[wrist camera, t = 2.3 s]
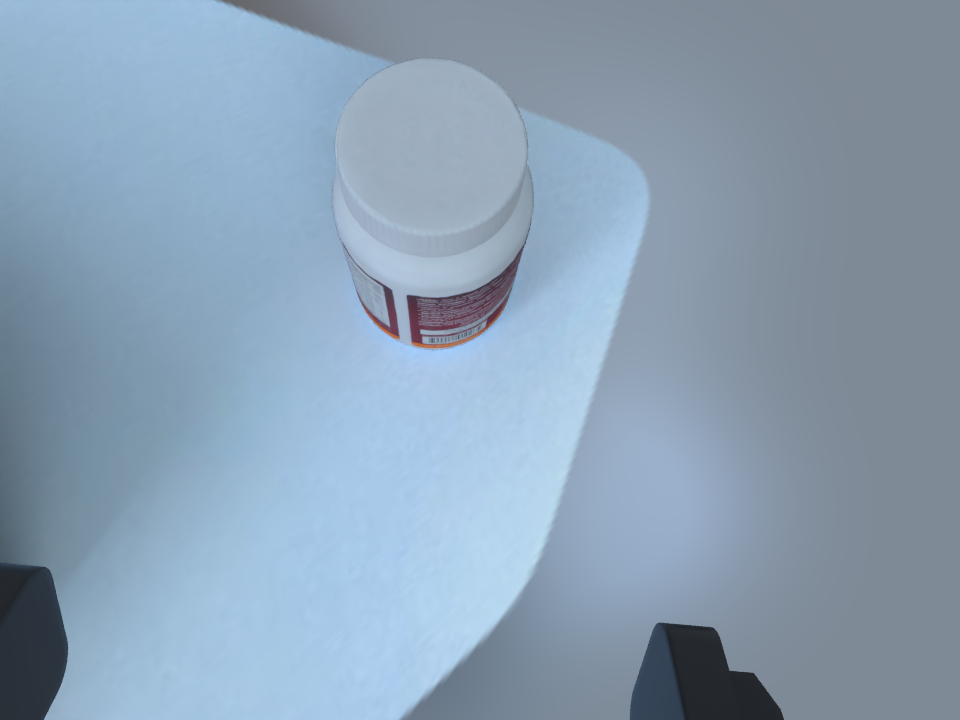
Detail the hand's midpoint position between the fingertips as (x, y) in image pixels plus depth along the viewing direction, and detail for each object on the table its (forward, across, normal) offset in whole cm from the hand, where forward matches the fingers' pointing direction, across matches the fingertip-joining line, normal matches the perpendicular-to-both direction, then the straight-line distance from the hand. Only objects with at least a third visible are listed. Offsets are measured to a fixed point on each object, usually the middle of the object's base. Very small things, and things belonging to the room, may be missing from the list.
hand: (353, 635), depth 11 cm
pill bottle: (+22, 0, +6) cm, 23 cm away
